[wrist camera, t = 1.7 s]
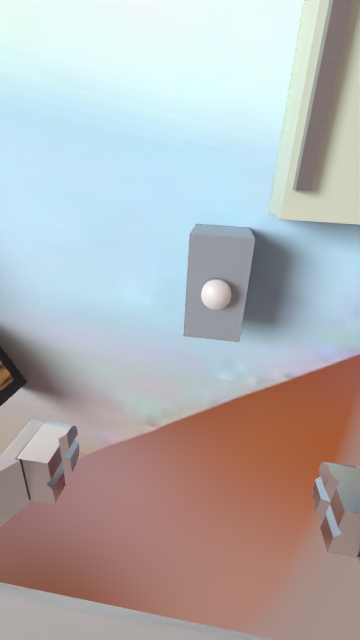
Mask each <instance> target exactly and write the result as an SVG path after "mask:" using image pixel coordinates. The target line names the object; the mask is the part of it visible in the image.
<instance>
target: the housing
mask: <svg viewBox="0 0 360 640" xmlns="http://www.w3.org/2000/svg"><path fill="white" fill-rule="evenodd" d="M254 245H255V237H254V235H253V233H252V232H251V230H250V228H247V227H233V226H218V225H204V224H196V225H195V227H194V228H193V230H192V231H191V233H190V240H189V256H188V272H187V289H186V305H185V321H184V336H188V337H197V338H206V339H216V340H225V341H234V342H239V341H240V335H241V328H242V322H243V315H244V309H245V303H246V296H247V290H248V283H249V277H250V270H251V264H252V258H253V251H254Z"/></svg>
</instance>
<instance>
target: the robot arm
mask: <svg viewBox="0 0 360 640" xmlns="http://www.w3.org/2000/svg"><path fill="white" fill-rule="evenodd" d="M77 434H78V433H77V427H76V426H73V425H67V424H62V423H56V422H50V421H43V420H37V419H33V420H31V421H29V422H28V423H27V425H26V426H25V427H24V428H23V429H22V430H21V432H20V433H19V434H18V435H17V436H16V438H15V439H14V440H13V441H12V442H11V444H10V445H9V446H8V447H7V448H6V450H5V451H4V452H3V453H2V454H1V455H0V526H1V525H2V524H3V523H5V522H6V521H7V520H8V519H10V518H11V517H12V516H13V515H15V514H16V513H17V512H18V511H19V510H21V509H22V508H23V507H24V506H26V505H27V504H28V503H29V500H30V501H38V502H44V503H51V504H56V501H57V500H58V498H59V496H60V494H61V492H62V491H63V489H64V487H65V485H66V484H65V477H66V476H68V475H70V474H71V473H72V472H73V470H74V468H75V466H76V463H77V460H78V457H79V443H78V442H77V441H76V440H75V438H76V436H77ZM319 473H320V476H321V477H319V478H317V479H316V480H315V482H314V485H313V503H314V507H315V511H316V513H317V514H318V515H319V517H320V518H321V519H322V520H323V522H322V525H321V527H320V529H321V532H322V536H323V539H324V542H325V545H326V549H327V552H331V553H335V554H340V555H345V556H350V557H355V558H359V559H358V560H359V562H360V467H356V466H350V465H343V464H335V463H328V462H323V463H322V464H321V465H320V468H319ZM0 640H275V639H270V638H266V637H261V636H255V635H251V634H246V633H241V632H236V631H232V630H227V629H222V628H217V627H212V626H207V625H203V624H198V623H193V622H188V621H184V620H179V619H174V618H169V617H164V616H159V615H154V614H150V613H145V612H140V611H135V610H131V609H125V608H121V607H116V606H111V605H106V604H101V603H96V602H91V601H87V600H82V599H77V598H73V597H67V596H63V595H58V594H53V593H49V592H43V591H38V590H34V589H29V588H24V587H19V586H15V585H10V584H5V583H0Z"/></svg>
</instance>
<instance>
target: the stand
mask: <svg viewBox="0 0 360 640" xmlns="http://www.w3.org/2000/svg"><path fill="white" fill-rule="evenodd" d="M268 212H269V213H271V214H272V215H274V216H275V217H277V218H278V219H283V220H298V221H313V222H329V223H344V224H359V225H360V0H304V2H303V8H302V14H301V20H300V26H299V32H298V38H297V44H296V50H295V56H294V62H293V67H292V73H291V79H290V85H289V91H288V97H287V103H286V109H285V115H284V121H283V127H282V133H281V139H280V145H279V151H278V157H277V163H276V169H275V175H274V181H273V187H272V193H271V199H270V205H269V211H268Z"/></svg>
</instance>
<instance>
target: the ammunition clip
mask: <svg viewBox="0 0 360 640" xmlns="http://www.w3.org/2000/svg"><path fill="white" fill-rule="evenodd" d="M26 382H27V381H26V380H25V379H24V377H23V376H22V375H21V373H20V372H19V371H18V369H17V368H16V367H15V365H14V364H13V362H12V361H11V360H10V358H9V357H8V356H7V354H6V353H5V352H4V350H3V349H2V348H1V346H0V385H1V384H2V383H3V384H2V385H1V386H0V406H1V405H2V404H3V403H5V402H6V401H7V400H8V399H9V398H10V397H11V396H12V395H13V394H14V393H16V392H17V391H18V390H19V389H20V388H21V387H22V386H23V385H24V384H25V383H26Z"/></svg>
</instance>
